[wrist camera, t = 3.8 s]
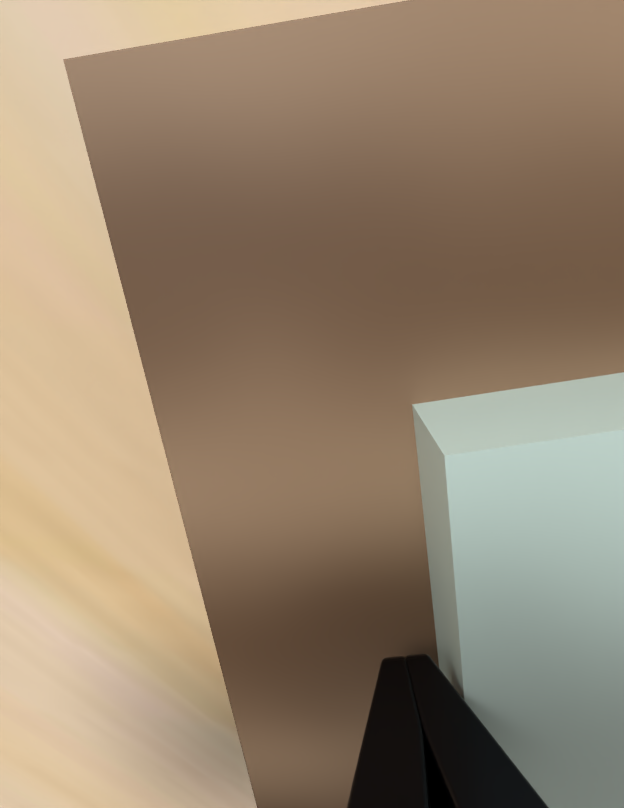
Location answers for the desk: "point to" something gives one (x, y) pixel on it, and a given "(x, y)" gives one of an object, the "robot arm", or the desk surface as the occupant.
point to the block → (533, 574)
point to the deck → (349, 308)
